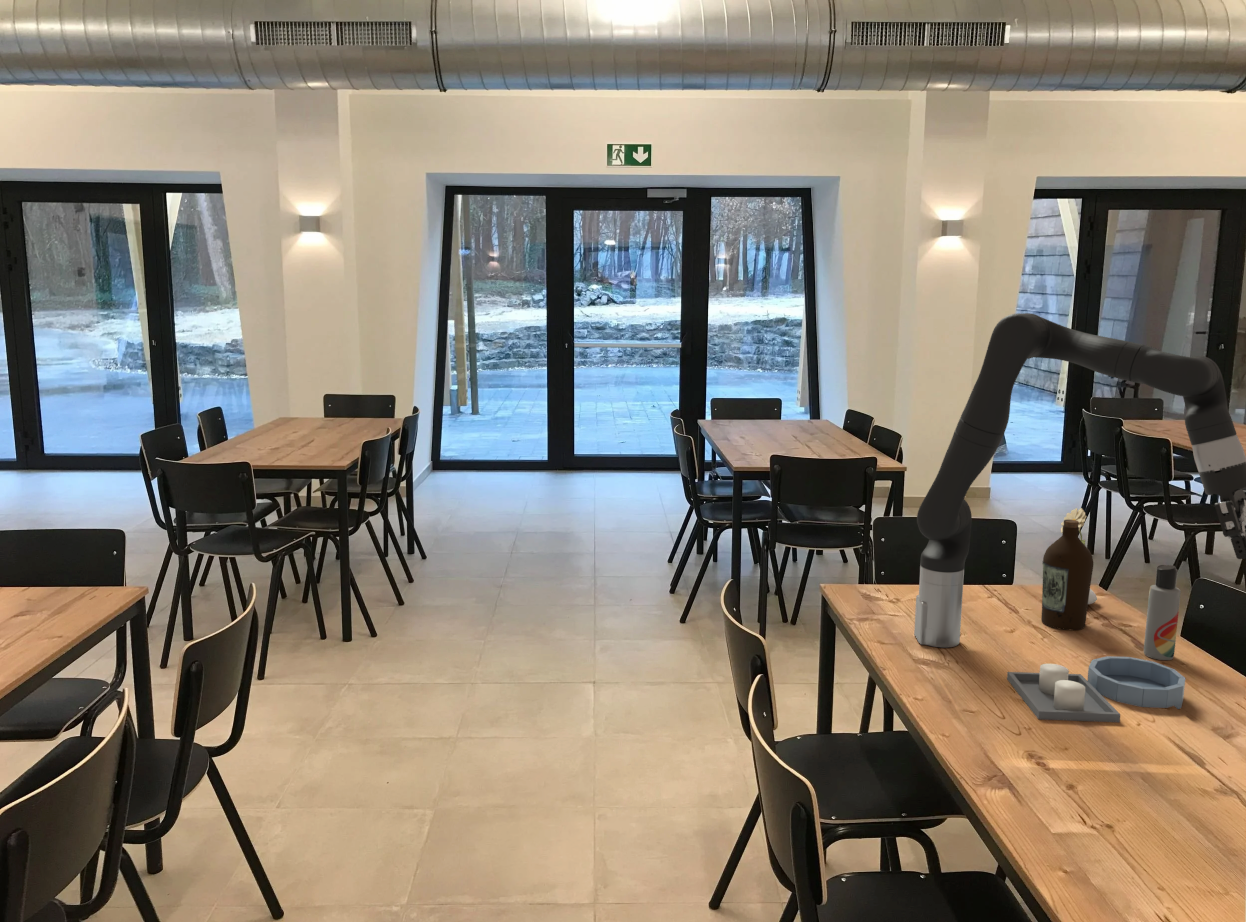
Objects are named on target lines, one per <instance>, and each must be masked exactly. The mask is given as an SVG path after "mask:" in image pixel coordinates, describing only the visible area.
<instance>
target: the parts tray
mask: <svg viewBox="0 0 1246 922" xmlns="http://www.w3.org/2000/svg"><path fill="white" fill-rule="evenodd" d="M1006 673H1007V674H1006V675H1007V677H1006V680H1007V681H1008V682H1009V684H1010V685H1011V686H1012V687H1013V689H1014V691H1016V693H1017V694H1018V695H1019V696H1020V698H1021V699H1022V700H1023V702H1024V703H1025V704H1026V705H1027V707H1028V708H1029V709H1030V711H1031V712H1032V713H1033V715H1034V716H1035V717H1036V719H1037V720H1046V721H1066V722H1067V721H1068V722H1069V721H1075V722H1098V723H1118V724H1119V723H1120V722H1121V714H1120V712H1119V711H1118V710H1117V709H1116V708H1115V707H1114V706H1113V705H1112V704H1111V703H1110V702H1109V701H1108V699H1106V697H1105V696H1103V695H1101V694H1100V693H1099V692H1098V691H1097V690H1096V689H1095V688H1094V687H1093V686H1092V685H1091V684H1090V683H1089V682H1088V681H1087V680H1088V679H1086V678H1085V676H1083V674H1082V673H1081V674H1078V673H1069V674H1068V680H1069V681H1074V682H1078V683H1080V684H1082V685H1084V686H1085V699H1084V710H1083V711H1068V710H1056V709H1055V708H1054V707H1053V705H1054V696H1052V695H1048V694H1045V693H1042V692H1041V691H1040V690H1039V689H1038V688H1039V675H1040V672H1023V671H1022V672H1021V671H1007V672H1006Z"/></svg>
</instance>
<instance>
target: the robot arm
mask: <svg viewBox="0 0 1246 922" xmlns="http://www.w3.org/2000/svg"><path fill="white" fill-rule="evenodd" d="M997 322H998V323H996V325H995V327H994V328H993V330H992V333H991V336H990V339H989V343H988V345H987V349H986V352H985V355H984V359H983V362H982V366H981V369H980V371H979V374H978V377H977V379H976V381H975V384H974V385H973V387H972V390H971V392H970V394H969V397H968V399H967V402H966V404H965V407H964V409H963V411H962V412H961V415H960V416H959V420H958V422H957V425H956V427H955V430H954V432H953V434H952V437H951V440H950V442H949V445H948V448H947V449H946V452H945V455H944V457H943V460H942V462H941V464H940V468H939V470H938V472H937V474H936V477H935V479H934V481H933V482H932V485H931V486H930V487H929V489H928V491H927V493H926V495H925V496H924V499H923V500H922V502H921V504H920V506H919V509H918V510H917V514H916V524H917V527H918V530H919V532H920V533H921V535H922V536H924V537H925V538H926V539H928V543H927V545H926V546H925V548H924V549H923V551H922V552H921V554H920V562H919V563H920V564H919V565H920V566H919V585H918V586H919V587H918V594H917V595H916V597H915V614H914V616H915V617H914V629H913V630H914V634H913V635H914V637H915V636H916V637H915V639H916V638H917V639H916V640H917V642H918V643H920V645H926V646H929V647H936V648H952V647H953V648H954V647H956V646H958V645H959V644H960V641H961V626H962V625H961V624H962V609H963V594H964V593H963V592H964V575H965V562H966V561H967V560H966V559H967V558H968V555H969V550H970V544H971V543H970V542H971V533H972V523H973V519H972V511H971V506H970V505H969V504H968V502H967V501H966V499H965V498H966V495H967V494H968V491H969V490H970V487H971V486H972V485H973V483H974V481H976V479H977V478H978V476H980V474H981V473H982V471H983V470H984V469H985V468H986V467H987V465H988V464H989V462H990V461H991V460H992V458H993V456H994V455H995V453H996V452H997V450H998V448H999V446H1000V444H1001V442H1002V439H1003V436H1004V435H1005V432H1006V429H1007V427H1008V425H1009V424H1008V423H1009V419H1010V413H1011V403H1012V402H1011V400H1012V393H1013V388H1014V386H1015V384H1016V380H1017V379H1018V377H1019V375H1020V373H1021V370H1022V368H1023V367H1024V365H1025V363H1026V361H1027V360H1029V359H1032V358H1033V359H1034V358H1035V359H1036V358H1037V359H1039V358H1040V359H1048V360H1049V359H1051V360H1059V361H1064V362H1069V363H1072V364H1075V365H1078V366H1081V367H1084V368H1086V369H1089V370H1091V371H1093V372H1096V373H1098V374H1102V375H1105V376H1108V377H1112V378H1115V379H1120V380H1123V381H1127V382H1130V383H1131V382H1132V383H1136V384H1142V385H1147V386H1149V387H1150V388H1153V389H1156V390H1158V391H1162V392H1165V393H1168V394H1172V395H1174V396H1178V397H1182V399H1183V402H1184V405H1185V409H1186V410H1185V411H1186V414H1185V417H1184V425H1185V429H1186V432H1187V435H1188V438H1189V441H1190V444H1191V448H1192V452H1193V453H1192V454H1193V458H1194V463H1195V465H1196V468H1197V471H1198V475H1199V477H1200V480H1201V483H1202V486H1203V490H1204V493H1205V495H1206V496H1207V495H1208V496H1216V495H1218V496H1219V501H1220V502H1215V503H1214V508H1215V511H1216V514H1217V517H1218V521H1219V523H1220V527H1221V531H1222V535H1223V536H1224V537H1225V538H1227V539H1230V542H1231V545H1232V548H1233V550H1234V554H1235V557H1236V559H1237V560H1244V559H1245V560H1246V453H1245V451H1244V447H1243V445H1242V443H1241V441H1240V440H1239V437H1238V435H1237V431H1236V428H1235V425H1234V422H1233V419H1232V416H1231V414H1230V411H1229V408H1228V400H1227V394H1226V389H1225V382H1224V378H1223V375H1222V372H1221V369H1220V368H1219V366H1218V364H1217V363H1216V362H1215V361H1214V360H1213V359H1211V358H1209V357H1207V356H1202V355H1196V356H1195V355H1194V356H1185V355H1179V354H1176V353H1175V354H1174V353H1170V352H1165V351H1160V350H1161V349H1159V348H1156V347H1153V346H1149V345H1147V344H1146V345H1145V344H1142V343H1136V342H1132V341H1129V340H1124V339H1123V340H1122V339H1117V338H1113V337H1108V336H1102V335H1097V334H1096V335H1095V334H1092V333H1087V332H1083V331H1080V330H1076V329H1072V328H1069V327H1067V326H1064V325H1061V324H1058V323H1056V322H1053V320H1052V321H1051V320H1049V319H1047V318H1044V317H1042V316H1040V315H1037V314H1036V313H1031V312H1030V313H1029V312H1028V313H1023V312H1022V313H1019V312H1018V313H1011V314H1008V315H1006V316H1004V317H1003V318H1001V319H1000V320H999V321H997Z"/></svg>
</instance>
